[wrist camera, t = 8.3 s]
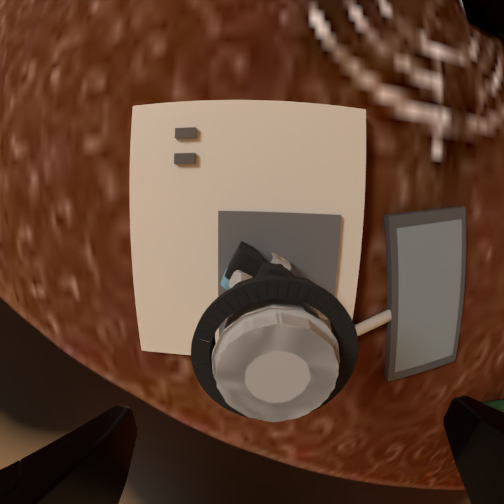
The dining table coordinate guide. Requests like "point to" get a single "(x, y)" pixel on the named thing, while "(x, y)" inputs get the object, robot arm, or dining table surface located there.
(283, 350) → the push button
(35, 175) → the dining table surface
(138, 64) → the dining table surface
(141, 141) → the outlet plate
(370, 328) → the wooden dowel
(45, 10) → the dining table surface
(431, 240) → the phone slab
